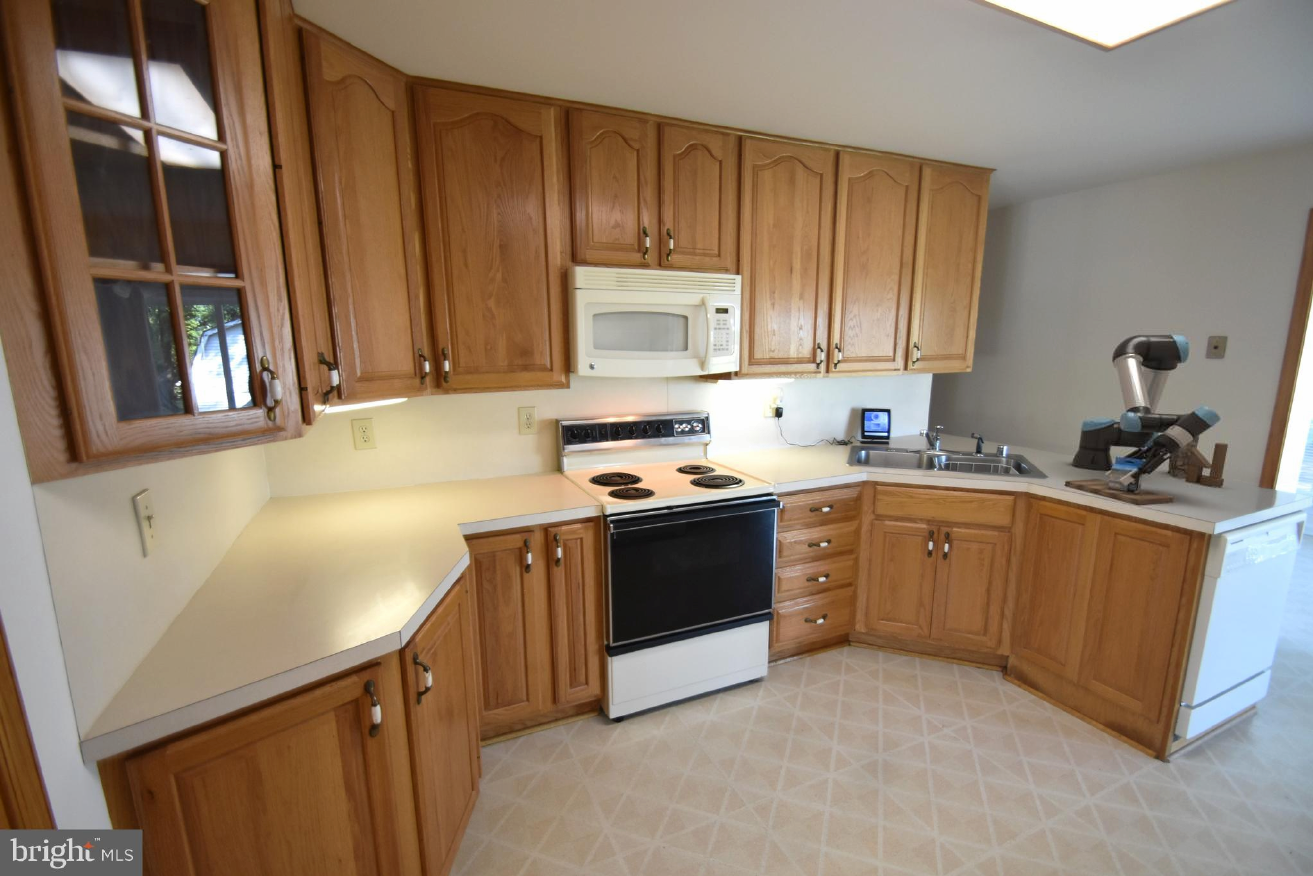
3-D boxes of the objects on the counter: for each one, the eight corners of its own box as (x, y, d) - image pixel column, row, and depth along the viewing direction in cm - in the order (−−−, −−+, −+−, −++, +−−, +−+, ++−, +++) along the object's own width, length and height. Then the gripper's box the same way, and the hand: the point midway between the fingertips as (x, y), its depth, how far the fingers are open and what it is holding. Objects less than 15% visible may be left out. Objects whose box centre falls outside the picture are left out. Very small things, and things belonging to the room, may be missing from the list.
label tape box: (1107, 488, 206) (1112, 457, 204) (1111, 487, 208) (1115, 456, 206) (1137, 493, 199) (1142, 461, 197) (1140, 491, 201) (1145, 460, 199)
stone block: (1194, 479, 228) (1202, 434, 225) (1173, 478, 231) (1180, 432, 228) (1181, 473, 240) (1189, 429, 237) (1161, 471, 243) (1168, 428, 240)
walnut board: (1064, 485, 218) (1065, 480, 218) (1096, 483, 221) (1096, 478, 221) (1138, 505, 191) (1139, 499, 191) (1172, 502, 194) (1173, 497, 194)
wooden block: (1190, 481, 226) (1197, 439, 223) (1222, 487, 216) (1231, 444, 213) (1184, 481, 225) (1191, 440, 222) (1216, 488, 215) (1225, 444, 212)
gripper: (1145, 428, 208) (1092, 466, 214) (1185, 437, 187) (1125, 479, 194) (1158, 442, 208) (1105, 480, 214) (1200, 453, 187) (1140, 494, 193)
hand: (1115, 479), depth 204 cm, fingers closed on label tape box, 8 cm apart
